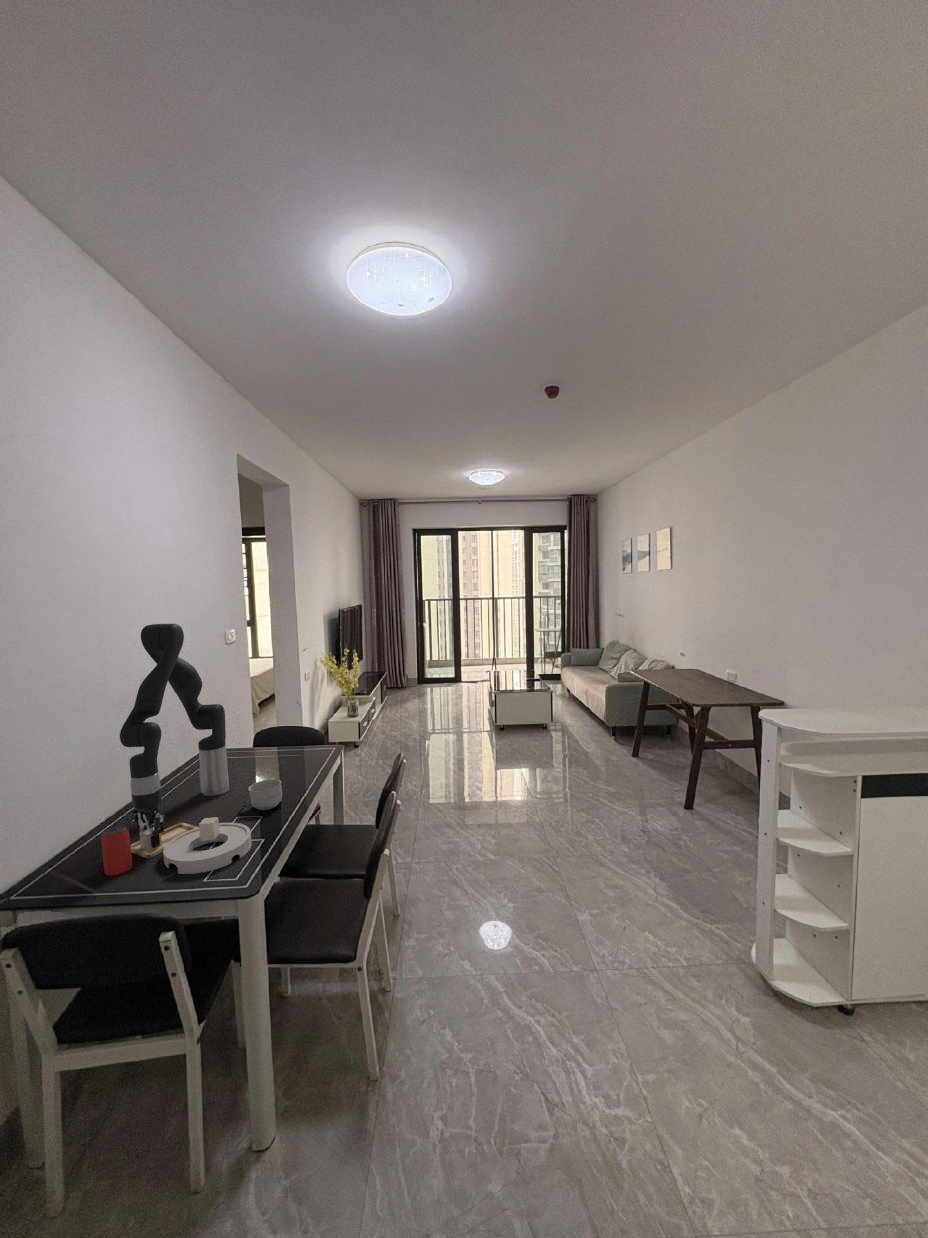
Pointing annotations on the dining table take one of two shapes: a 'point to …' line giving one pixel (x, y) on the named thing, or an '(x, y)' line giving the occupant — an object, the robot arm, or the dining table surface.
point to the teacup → (265, 794)
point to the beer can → (116, 850)
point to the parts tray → (165, 837)
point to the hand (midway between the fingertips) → (151, 844)
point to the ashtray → (203, 861)
